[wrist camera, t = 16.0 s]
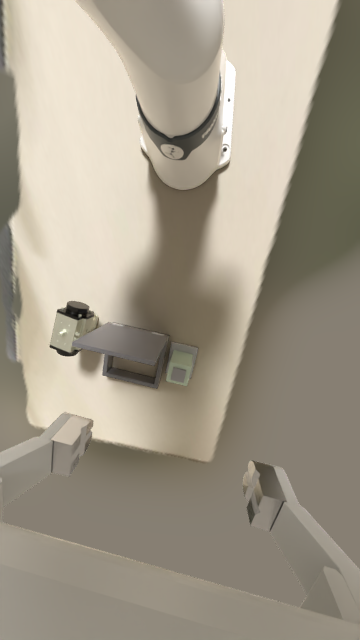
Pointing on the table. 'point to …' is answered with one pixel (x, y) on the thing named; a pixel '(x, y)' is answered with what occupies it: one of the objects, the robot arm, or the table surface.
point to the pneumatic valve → (72, 327)
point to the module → (179, 368)
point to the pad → (183, 349)
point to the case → (127, 350)
